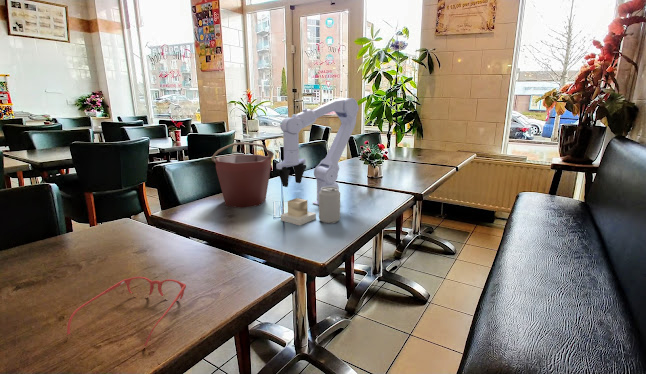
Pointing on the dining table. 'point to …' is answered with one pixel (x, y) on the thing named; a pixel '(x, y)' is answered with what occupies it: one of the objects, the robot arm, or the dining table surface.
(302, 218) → the coaster
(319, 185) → the robot arm
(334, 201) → the can
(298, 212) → the cube
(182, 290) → the red eyeglasses
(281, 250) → the dining table surface
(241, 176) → the bucket
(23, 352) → the dining table surface
